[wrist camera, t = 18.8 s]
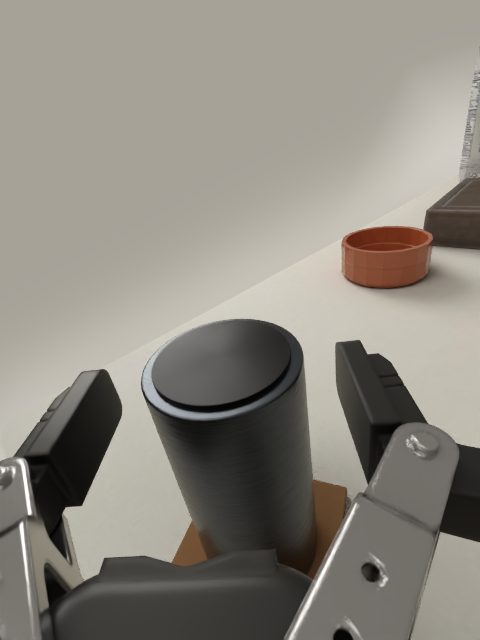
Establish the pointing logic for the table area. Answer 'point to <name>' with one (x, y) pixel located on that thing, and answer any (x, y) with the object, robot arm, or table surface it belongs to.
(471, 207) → the book
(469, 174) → the juice carton
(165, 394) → the black metal canister
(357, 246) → the terracotta bowl
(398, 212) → the table surface
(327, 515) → the cork mat
